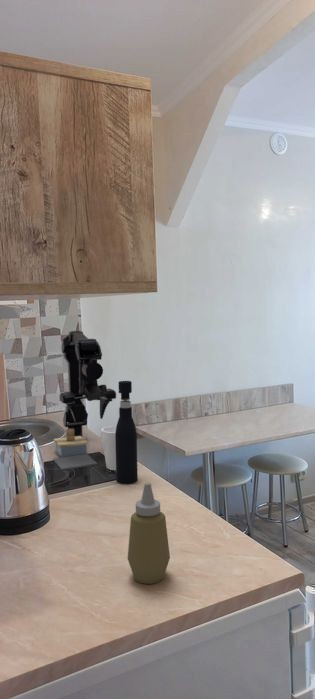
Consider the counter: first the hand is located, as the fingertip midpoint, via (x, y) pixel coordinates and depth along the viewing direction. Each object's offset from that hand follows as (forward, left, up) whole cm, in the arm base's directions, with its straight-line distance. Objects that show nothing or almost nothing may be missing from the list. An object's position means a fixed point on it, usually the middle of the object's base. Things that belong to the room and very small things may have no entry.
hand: (88, 420), depth 166 cm
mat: (+3, -6, -13) cm, 15 cm away
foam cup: (+15, +4, -14) cm, 21 cm away
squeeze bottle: (+78, -12, -14) cm, 80 cm away
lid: (-8, -5, -9) cm, 13 cm away
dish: (-8, -5, -13) cm, 16 cm away
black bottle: (+27, +3, -14) cm, 31 cm away
